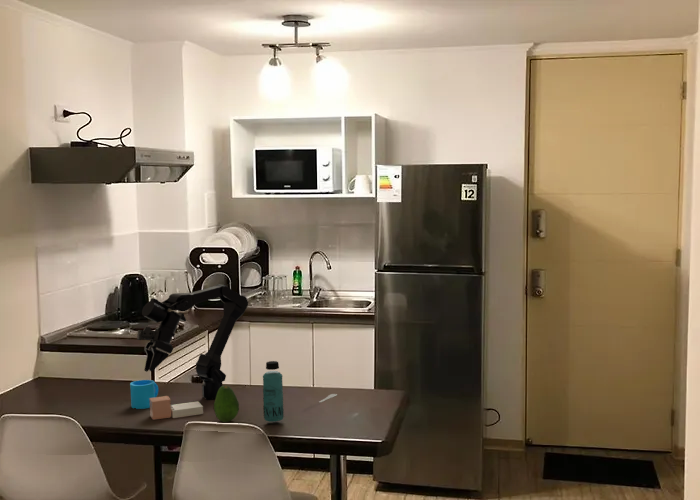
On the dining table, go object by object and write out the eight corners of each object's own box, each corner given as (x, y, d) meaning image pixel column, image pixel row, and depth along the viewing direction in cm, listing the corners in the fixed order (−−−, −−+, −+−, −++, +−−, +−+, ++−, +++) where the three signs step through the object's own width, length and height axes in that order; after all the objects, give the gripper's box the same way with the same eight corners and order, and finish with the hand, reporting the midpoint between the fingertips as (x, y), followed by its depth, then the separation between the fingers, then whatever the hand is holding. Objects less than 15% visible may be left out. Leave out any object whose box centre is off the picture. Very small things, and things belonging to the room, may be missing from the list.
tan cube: (168, 413, 269) (167, 395, 269) (171, 417, 265) (170, 399, 264) (150, 415, 267) (149, 398, 266) (152, 419, 262) (151, 401, 262)
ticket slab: (198, 408, 274) (198, 401, 274) (203, 413, 268) (202, 406, 268) (169, 412, 270) (168, 405, 270) (173, 418, 264) (172, 410, 264)
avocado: (212, 425, 255) (210, 388, 253) (217, 418, 262) (215, 382, 261) (237, 425, 254) (235, 388, 253) (241, 417, 262) (240, 381, 261)
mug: (144, 410, 274) (143, 386, 274) (126, 407, 278) (125, 384, 277) (167, 400, 285) (166, 378, 284) (149, 398, 289) (148, 376, 288)
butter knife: (339, 394, 287) (332, 393, 288) (304, 412, 266) (297, 411, 267) (339, 395, 287) (332, 394, 288) (304, 413, 266) (297, 412, 267)
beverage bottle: (263, 420, 258) (261, 359, 256) (284, 419, 259) (282, 358, 257) (263, 427, 252) (261, 364, 250) (284, 425, 252) (282, 363, 250)
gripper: (140, 320, 278) (121, 362, 274) (150, 316, 262) (130, 361, 257) (169, 333, 282) (151, 374, 277) (181, 330, 265) (162, 374, 260)
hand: (148, 371), depth 268 cm, fingers open, 9 cm apart
